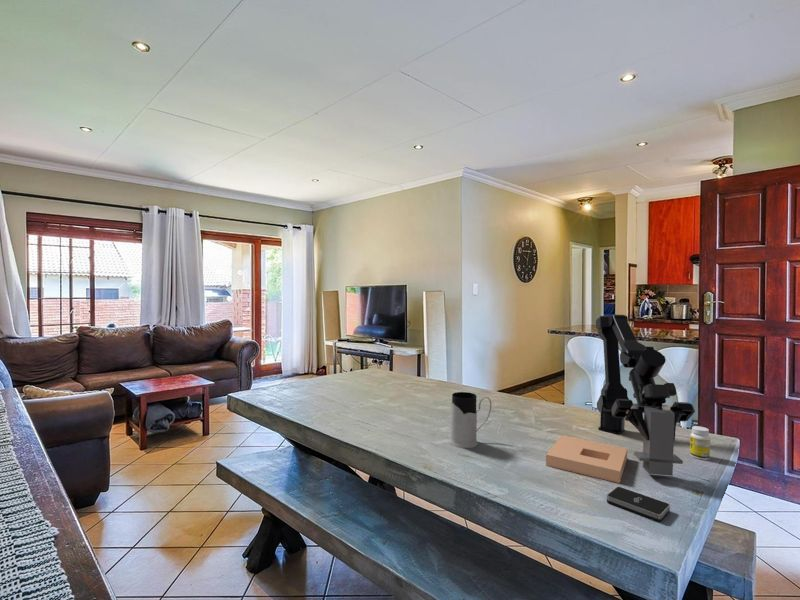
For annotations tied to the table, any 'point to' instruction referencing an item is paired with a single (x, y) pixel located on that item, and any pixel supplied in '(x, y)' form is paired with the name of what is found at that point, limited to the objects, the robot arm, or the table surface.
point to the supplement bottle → (700, 443)
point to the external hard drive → (638, 504)
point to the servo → (659, 441)
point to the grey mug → (465, 419)
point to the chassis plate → (588, 458)
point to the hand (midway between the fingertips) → (660, 440)
